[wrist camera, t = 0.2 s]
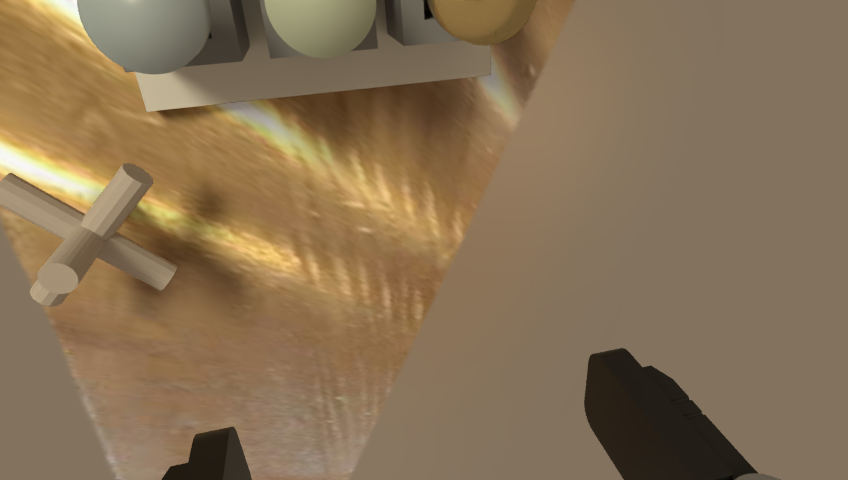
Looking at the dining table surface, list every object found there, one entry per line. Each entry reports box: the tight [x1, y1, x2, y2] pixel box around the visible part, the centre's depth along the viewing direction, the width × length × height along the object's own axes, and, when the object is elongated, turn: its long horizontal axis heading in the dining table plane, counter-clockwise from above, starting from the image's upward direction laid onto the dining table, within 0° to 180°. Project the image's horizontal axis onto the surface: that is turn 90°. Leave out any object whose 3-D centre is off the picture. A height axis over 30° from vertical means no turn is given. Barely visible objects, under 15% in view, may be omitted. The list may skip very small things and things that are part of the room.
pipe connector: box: [0, 163, 178, 306], centre depth 32 cm, size 10×10×10 cm
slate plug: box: [77, 0, 211, 75], centre depth 25 cm, size 5×5×8 cm
